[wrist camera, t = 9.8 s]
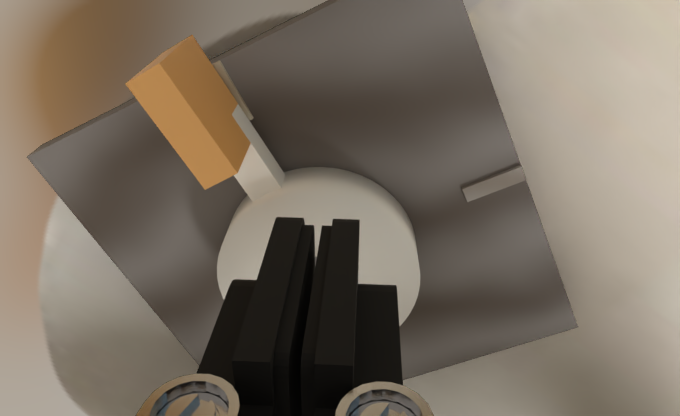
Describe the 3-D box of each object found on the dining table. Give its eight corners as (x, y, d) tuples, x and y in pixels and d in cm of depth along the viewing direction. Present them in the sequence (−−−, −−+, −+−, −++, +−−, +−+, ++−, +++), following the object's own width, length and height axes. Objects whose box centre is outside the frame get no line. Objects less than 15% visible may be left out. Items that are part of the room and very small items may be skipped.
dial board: (569, 309, 33) (579, 329, 32) (253, 408, 39) (249, 429, 37) (439, -56, 23) (444, -52, 22) (41, 144, 29) (24, 158, 27)
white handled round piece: (446, 283, 30) (459, 345, 26) (290, 344, 33) (280, 409, 29) (275, -17, 23) (256, 4, 19) (92, 94, 25) (41, 133, 21)
